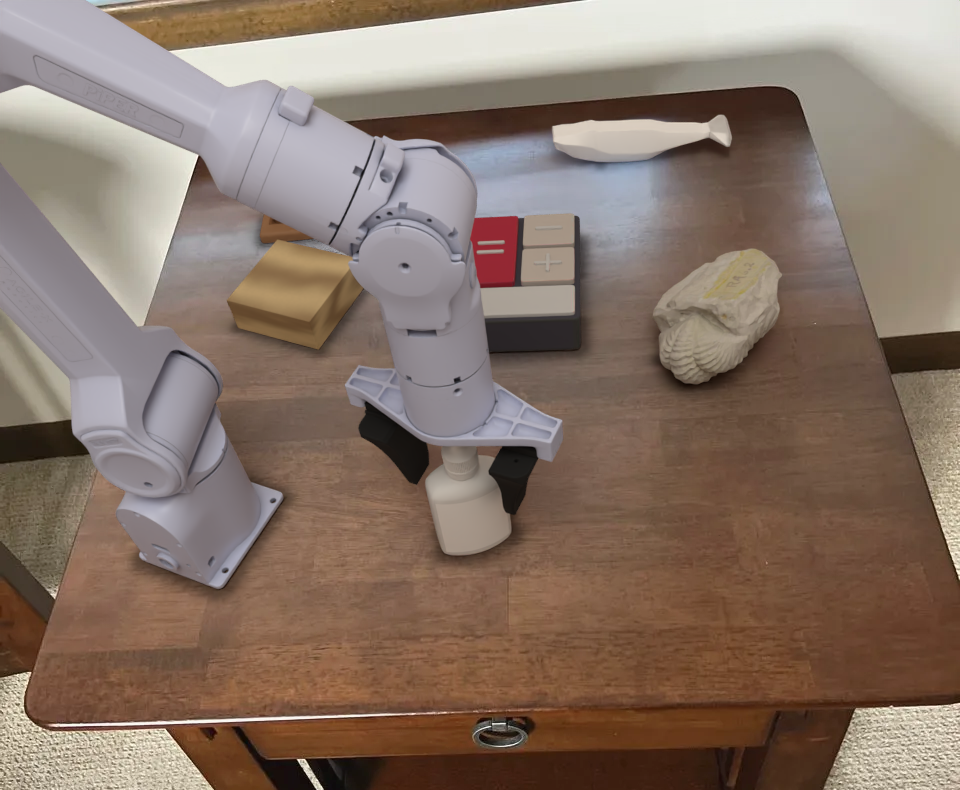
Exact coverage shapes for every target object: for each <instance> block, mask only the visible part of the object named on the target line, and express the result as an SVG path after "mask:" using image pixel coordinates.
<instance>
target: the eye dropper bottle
mask: <svg viewBox="0 0 960 790" xmlns="http://www.w3.org/2000/svg"><path fill="white" fill-rule="evenodd" d="M477 447H478V446H441V450H440V452H441V453H440V454H441V458H442V462H443V463H442V464H440V465H439V466H438V467H436V468H435V469H434V470H432V472H430V473H429V474H428V476H427V477H426V478H425V481H424V487H425V492H426V496H427V501H428V504H429V508H430V514H431V517H432V520H433V521H432V522H433V525H434V528H435V534H436V537H437V541H438V543H439V546H440V548H441V551H442V552H443V553H444V554H445V555H447V556H457V557H458V556H470V555H476V554H480V553H483V552H485V551H488V550H490V549H493V548H495V547H497V546H499V545H500V544H501V543H503V542H504V541H506V540H507V539H508V538H509V537H510V536H511V534H512V521H511V514H509V513H506V512H505V510H504V508H503V503H502V496H501V491H500V488H499V486H498V484H497V482H496V481H495V479H494V478H493V477H492V476H490V475H489V472H488V471H489V469H490V467H491V465H492V463H493V461H494V459H495V457H493V456H490V455H483V454H479V452H478V448H477Z"/></svg>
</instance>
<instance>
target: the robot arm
mask: <svg viewBox="0 0 960 790" xmlns="http://www.w3.org/2000/svg"><path fill="white" fill-rule="evenodd" d="M23 86H29V87H30V86H31V87H35V88H36V89H39V90H41V91H44V92H46V93H49V94H51V95H53V96H56V97H57V98H61V99H63V100H65V101H68V102H69V103H72V104H75V105H77V106H80V107H82V108H84V109H87V110H89V111H91V112H95V113H97V114H99V115H101V116H104V117H107V118H109V119H110V120H113V121H116V122H117V123H118V122H119V123H120V124H123V125H125V126H127V127H131V128H132V129H135V130H137V131H140V132H142V133H144V134H147V135H149V136H152V137H153V138H156V139H159V140H161V141H164V142H166V143H168V144H171V145H173V146H176V147H177V148H180V149H183V150H185V151H187V152H190V153H192V154H194V155H198V156H199V157H200V158H201V160H202V161H203V162H204V164H205V166H206V168H207V170H208V172H209V174H210V176H211V179H212V180H213V183H214V184H215V186H216V188H217V189H218V192H219V193H220V194H222V195H223V196H226V197H228V198H230V199H232V200H235V201H236V202H237V203H240V204H241V205H244V206H246V207H248V208H250V209H252V210H254V211H257V212H259V213H261V214H263V215H264V214H265V215H267V216H269V217H271V218H273V219H275V220H277V221H279V222H281V223H283V224H285V225H287V226H289V227H291V228H293V229H295V230H297V231H299V232H302V233H304V234H306V235H308V236H310V237H312V238H314V239H313V240H316V241H318V242H320V243H322V244H324V245H326V246H328V247H330V248H332V249H334V250H336V251H338V252H340V253H342V254H343V255H347V256H350V257H352V259H353V261H349V262H348V265H349V268H350V270H351V272H352V274H353V276H354V277H355V279H356V280H357V281H358V283H359V284H360V285H361V286H362V287H363V288H364V289H363V290H365V291H367V293H369V294H370V295H371V296H373V297H374V298H375V299H376V300H377V301H378V307H379V310H380V311H379V312H380V315H381V319H382V323H383V326H384V327H383V328H384V331H385V335H386V339H387V342H388V346H389V351H390V355H391V359H392V362H393V367H394V368H393V367H391V368H389V367H386V368H385V367H372V366H371V367H370V366H366V365H361V364H358V365H357V366H356V368H355V369H354V371H353V372H352V374H351V375H350V376H349V378H348V379H347V380H346V382H345V383H344V388H345V391H346V394H347V397H348V400H349V403H350V406H354V407H358V408H365V410H364V416H363V418H362V419H360V420H361V421H360V422H359V424H358V428H357V429H358V433H359V435H360V438H361V439H363V440H366V442H368V443H371V444H372V445H374V446H375V447H376V448H378V449H379V450H380V451H382V452H383V453H384V455H385V456H387V457H388V458H389V459H390V461H392V463H393V464H394V466H396V468H397V469H398V470H399V471H400V473H401V474H402V475H403V477H404V478H405V479H406V480H407V482H408V483H409V484H412V485H415V486H418V485H419V482H420V481H421V479H422V478H423V476H424V474H425V472H426V471H427V469H428V467H429V466H430V452H429V447H428V444H430V445H432V446H437V447H442V446H476V447H500V448H499V449H498V452H497V453H496V456H495V457H494V458H495V459H494V461H493V463H492V465H491V467H490V469H489V471H488V472H489V475H490V476H492V477H493V478H494V479H495V481H496V482H497V484H498V486H499V488H500V491H501V496H502V503H503V508H504V510H505V512H506V513H509V514H510V515H511V516H515V515H517V513H518V511H519V509H520V507H521V505H522V504H523V501H524V499H525V497H526V495H527V487H528V482H529V479H530V476H531V474H532V472H533V470H534V468H535V466H536V464H537V462H538V461H539V459H540V460H543V461H546V462H550V463H552V462H553V461H554V459H555V457H556V455H557V454H558V452H559V449H560V447H561V445H562V444H563V441H564V425H563V423H564V422H563V419H561V418H558V417H555V416H551V415H550V414H547V413H544V411H541V410H539V409H537V408H536V407H534V406H533V405H531V404H530V403H528V402H527V401H525V400H523V399H521V398H520V397H518V395H516V394H515V393H513V392H511V391H509V390H508V389H506V388H505V387H503V386H501V385H500V384H499V383H497V382H495V381H494V380H493V373H492V366H491V358H490V352H489V350H488V342H487V335H486V327H485V320H484V312H483V305H482V297H481V289H480V284H479V281H478V278H477V271H476V266H475V260H474V253H473V246H472V242H471V240H470V237H471V232H472V228H473V223H474V219H475V218H476V215H477V209H478V187H477V182H476V179H475V177H474V175H473V173H472V170H470V168H469V167H468V165H467V163H465V162H464V161H463V160H462V159H461V158H460V157H459V156H457V155H456V154H455V153H453V152H452V151H450V150H449V149H448V148H447V146H445V144H443V143H441V142H439V141H435V140H431V139H426V138H425V139H423V138H410V139H405V140H395V139H392V138H390V137H388V136H386V135H383V136H382V137H379V136H378V135H375V136H372V135H370V134H368V133H367V132H365V131H363V130H361V129H360V128H357V127H355V126H353V125H351V124H349V123H348V122H346V121H345V120H342V119H340V118H338V117H337V116H335V115H333V114H331V113H329V112H328V111H325V110H324V109H322V108H321V107H318V106H316V105H314V104H315V98H314V96H312V95H310V94H308V92H305V91H303V90H301V89H300V88H298V87H296V86H294V85H289V86H288V87H287V89H285V88H284V87H281V86H280V85H278V84H277V83H274V82H272V81H271V80H268V79H260V80H254V81H250V82H245V83H242V84H239V85H235V86H234V85H233V86H227V85H224V84H223V83H222V82H220V81H218V80H217V79H216V78H215V79H214V78H213V77H211V76H210V75H208V74H207V73H205V72H203V71H202V70H201V69H199V68H197V67H196V66H194V65H192V64H191V63H189V62H187V61H186V60H184V59H182V58H181V57H179V56H178V55H176V54H175V53H172V52H171V51H169V50H167V48H164V47H162V46H161V45H159V44H158V43H156V42H154V41H153V40H151V39H150V38H148V37H146V35H143V34H141V33H140V32H139V31H137V30H135V29H133V28H132V27H130V26H128V25H127V24H126V23H124V22H122V21H120V20H119V19H117V18H116V17H114V16H112V15H111V14H109V13H107V12H106V11H104V10H103V9H101V8H99V7H98V6H96V5H95V4H93V3H91V2H89V1H88V0H0V94H2V93H6V92H8V91H11V90H14V89H17V88H21V87H23ZM0 309H1V311H2V312H3V313H4V314H5V315H6V316H7V317H8V318H9V319H10V320H11V321H12V322H13V323H14V324H15V325H16V326H17V327H18V328H19V329H20V331H22V333H24V334H25V335H26V337H28V338H29V339H30V340H31V342H32V343H33V344H35V345H36V347H37V348H38V349H39V350H40V351H41V352H42V353H43V354H44V355H45V356H46V357H47V358H48V359H49V360H50V361H51V362H52V363H53V364H54V365H55V366H56V367H57V368H58V370H60V372H62V373H63V374H64V375H65V376H66V378H68V380H69V388H70V389H69V390H70V417H71V418H70V419H71V429H72V430H71V431H72V432H71V433H72V435H73V436H74V437H75V438H76V439H77V440H78V441H79V442H81V444H82V445H83V446H84V447H85V448H86V449H87V451H88V453H89V455H90V458H91V462H92V464H93V466H94V467H95V469H96V470H97V472H99V474H100V475H101V476H102V477H103V478H104V479H105V480H106V481H107V482H109V483H110V484H111V485H113V486H114V487H117V488H118V489H120V490H121V491H124V495H123V497H122V499H121V500H120V503H119V505H118V506H117V508H116V509H115V512H114V513H115V517H116V520H117V521H118V523H119V524H120V526H121V527H122V528H123V530H124V531H125V533H126V534H127V535H128V536H129V538H130V539H131V540H132V542H133V543H134V545H135V546H136V548H138V550H139V551H140V552H139V553H138V557H139V559H140V560H141V561H142V562H145V563H148V564H151V565H153V566H156V567H159V568H161V569H164V570H166V571H169V572H172V573H174V574H177V575H179V576H182V577H184V578H187V579H190V580H192V581H195V582H198V583H201V584H203V585H205V586H208V587H210V588H213V589H217V590H219V589H222V588H224V587H225V586H226V585H227V583H228V581H229V580H230V579H231V577H232V576H233V574H234V573H235V571H236V569H237V568H238V566H239V565H240V564H241V562H242V561H243V559H244V558H245V556H246V555H247V554H248V553H249V550H250V549H251V548H252V546H253V544H254V543H255V542H256V540H257V539H258V538H259V536H260V534H261V533H262V531H263V530H264V529H265V527H266V526H267V524H268V523H269V521H270V519H272V516H273V515H274V514H275V512H276V511H277V509H279V506H280V505H281V503H282V502H283V500H284V494H283V493H282V492H281V491H280V490H276V489H274V488H271V487H268V486H265V485H262V484H258V483H255V482H252V481H251V480H250V478H249V475H248V474H247V472H246V470H245V468H244V466H243V464H242V462H241V460H240V458H239V457H238V454H237V452H236V450H235V448H234V446H233V444H232V442H231V440H230V438H229V436H228V434H227V432H226V430H225V428H224V426H223V424H222V422H221V419H222V418H221V417H222V412H221V411H220V409H219V406H218V405H217V403H216V402H217V401H218V400H219V398H220V397H221V395H222V393H223V389H224V381H223V376H222V374H221V373H220V371H219V370H218V368H217V367H216V366H215V365H214V364H213V362H212V361H211V360H210V359H209V358H207V357H206V356H205V355H203V354H202V353H200V352H198V350H196V349H193V348H191V347H190V346H189V345H188V344H186V342H184V341H183V340H182V339H181V338H180V336H179V335H178V334H177V332H176V331H175V330H174V329H173V328H172V327H171V326H166V325H139V326H138V325H137V324H136V323H135V322H134V321H133V319H132V318H131V317H130V316H129V314H128V313H127V312H126V311H125V310H124V308H123V307H122V306H121V304H119V302H118V301H117V300H116V299H115V298H114V296H113V295H112V294H111V293H110V292H109V290H108V289H107V288H106V287H105V286H104V285H103V284H102V282H101V281H100V280H99V278H98V277H97V276H96V275H95V274H94V272H93V271H92V270H91V269H90V268H89V266H88V265H87V264H86V263H85V262H84V261H83V260H82V258H81V257H80V256H79V254H78V253H77V252H76V251H75V250H74V249H73V248H72V246H71V245H70V244H69V243H68V241H66V239H65V238H64V237H63V235H61V233H60V232H59V231H58V229H57V228H56V227H55V226H54V225H53V223H52V222H51V221H50V220H49V219H48V218H47V217H46V214H44V213H43V211H42V210H41V209H40V208H39V207H38V206H37V204H36V203H35V202H34V201H33V200H32V198H31V197H30V196H29V195H28V194H27V192H26V191H25V190H24V189H23V188H22V187H21V185H20V184H19V182H17V180H16V179H15V178H14V177H13V176H12V175H11V173H10V172H9V171H8V170H7V169H6V167H5V166H4V165H3V164H2V163H1V162H0Z"/></svg>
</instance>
